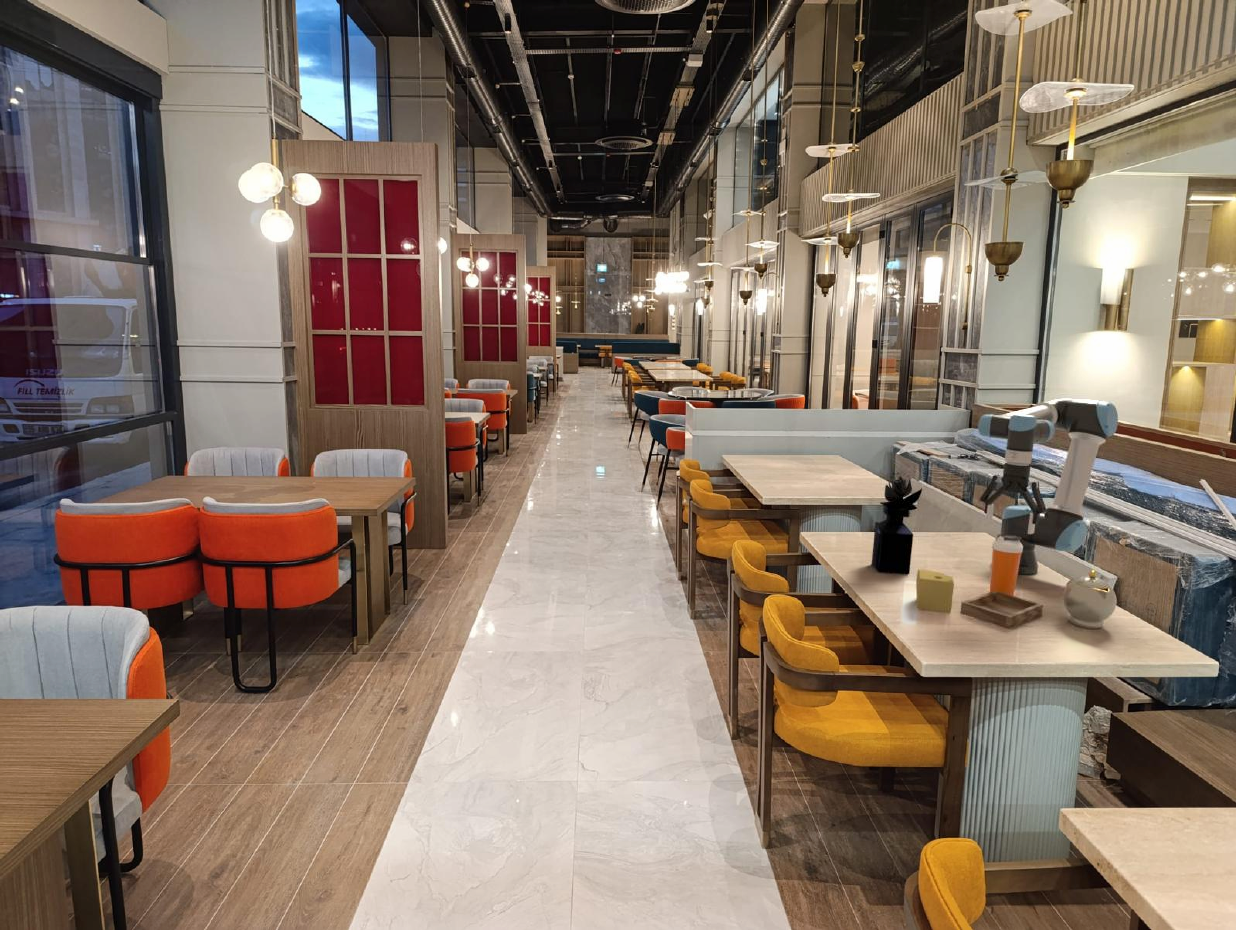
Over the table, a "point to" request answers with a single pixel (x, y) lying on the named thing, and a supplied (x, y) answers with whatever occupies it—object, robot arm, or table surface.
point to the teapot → (1089, 601)
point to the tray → (1001, 609)
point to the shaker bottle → (1005, 563)
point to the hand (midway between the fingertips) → (1009, 528)
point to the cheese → (934, 591)
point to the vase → (895, 530)
